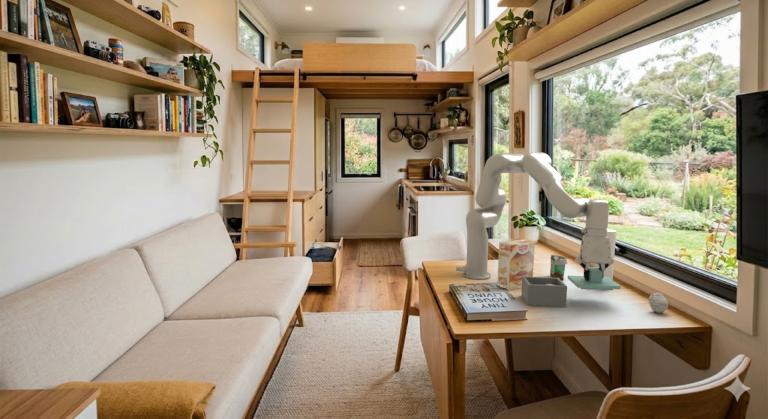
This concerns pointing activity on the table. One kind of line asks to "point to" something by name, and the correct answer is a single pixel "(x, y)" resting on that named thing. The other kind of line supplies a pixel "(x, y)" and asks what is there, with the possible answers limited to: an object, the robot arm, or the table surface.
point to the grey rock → (658, 302)
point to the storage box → (544, 291)
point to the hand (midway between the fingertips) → (593, 279)
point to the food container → (557, 267)
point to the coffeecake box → (515, 262)
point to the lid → (594, 281)
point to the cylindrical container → (609, 269)
